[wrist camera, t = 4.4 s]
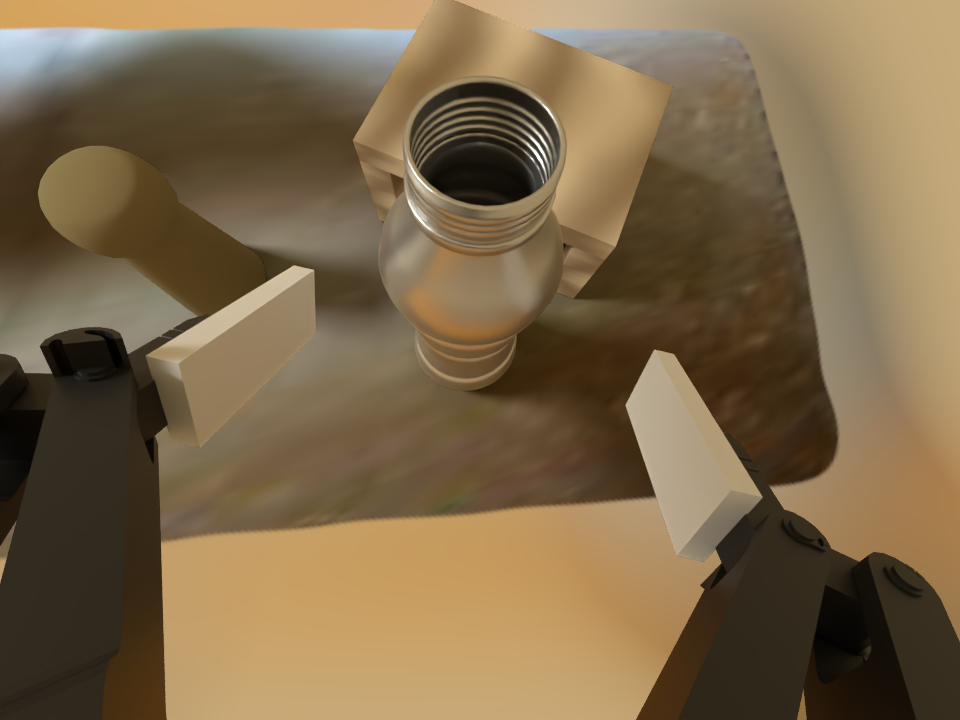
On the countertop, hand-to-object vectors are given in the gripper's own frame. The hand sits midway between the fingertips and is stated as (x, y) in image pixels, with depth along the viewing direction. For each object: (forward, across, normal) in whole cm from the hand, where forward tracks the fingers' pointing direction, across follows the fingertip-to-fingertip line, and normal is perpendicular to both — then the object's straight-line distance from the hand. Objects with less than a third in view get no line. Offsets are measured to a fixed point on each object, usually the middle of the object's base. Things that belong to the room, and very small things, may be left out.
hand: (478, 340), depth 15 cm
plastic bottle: (+11, -1, -7) cm, 13 cm away
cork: (+12, -19, -7) cm, 23 cm away
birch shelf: (+20, -1, +2) cm, 20 cm away
